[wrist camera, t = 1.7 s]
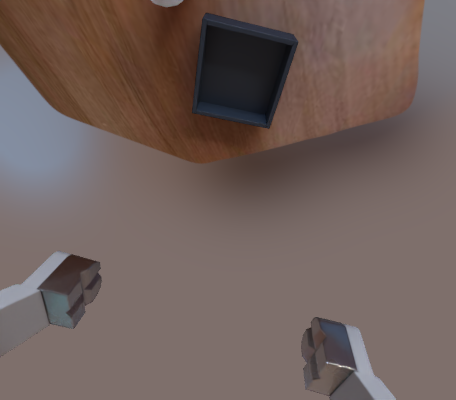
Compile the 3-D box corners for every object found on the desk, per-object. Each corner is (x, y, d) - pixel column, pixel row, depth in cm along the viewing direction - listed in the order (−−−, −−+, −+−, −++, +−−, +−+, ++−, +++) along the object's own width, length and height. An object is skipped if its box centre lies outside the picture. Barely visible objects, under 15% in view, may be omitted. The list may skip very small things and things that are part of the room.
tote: (195, 101, 43) (191, 113, 40) (205, 12, 35) (202, 18, 32) (267, 116, 44) (269, 128, 41) (293, 34, 36) (298, 41, 33)
